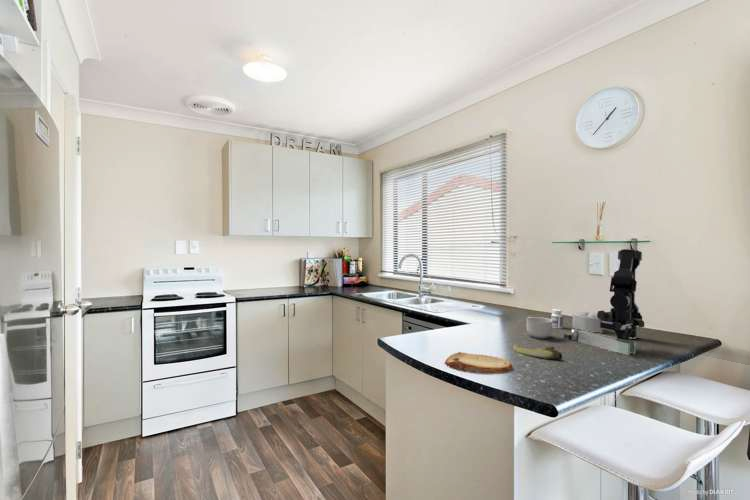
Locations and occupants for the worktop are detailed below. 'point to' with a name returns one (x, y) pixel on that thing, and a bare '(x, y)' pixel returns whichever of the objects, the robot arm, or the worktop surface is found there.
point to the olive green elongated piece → (539, 352)
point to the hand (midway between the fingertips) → (621, 345)
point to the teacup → (539, 327)
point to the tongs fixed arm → (599, 341)
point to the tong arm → (632, 344)
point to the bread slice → (478, 363)
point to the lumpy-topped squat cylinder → (586, 321)
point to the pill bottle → (557, 319)
